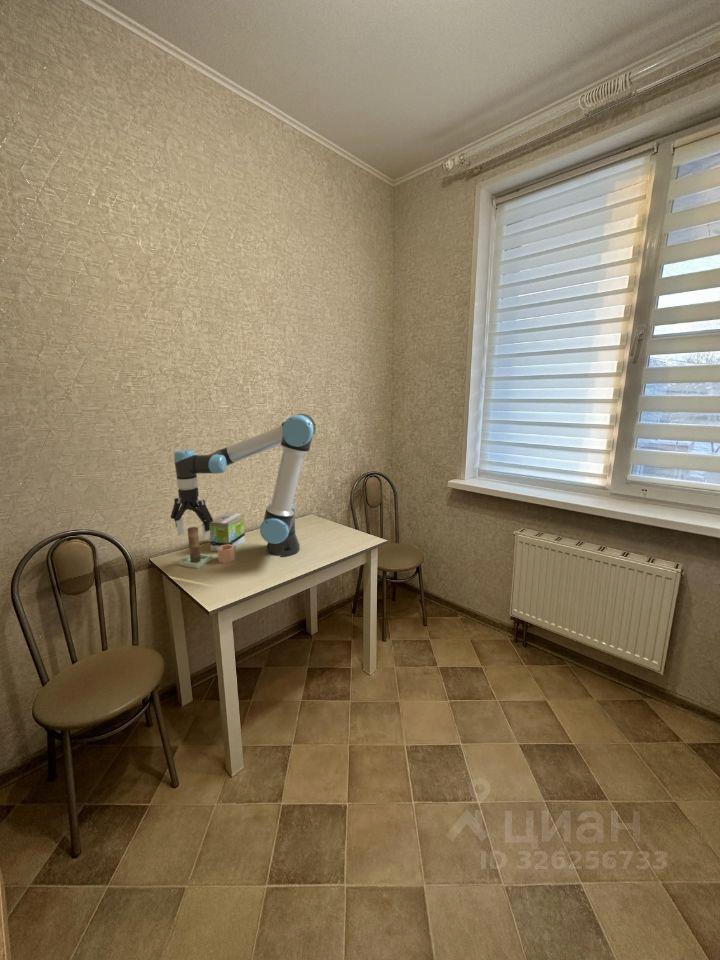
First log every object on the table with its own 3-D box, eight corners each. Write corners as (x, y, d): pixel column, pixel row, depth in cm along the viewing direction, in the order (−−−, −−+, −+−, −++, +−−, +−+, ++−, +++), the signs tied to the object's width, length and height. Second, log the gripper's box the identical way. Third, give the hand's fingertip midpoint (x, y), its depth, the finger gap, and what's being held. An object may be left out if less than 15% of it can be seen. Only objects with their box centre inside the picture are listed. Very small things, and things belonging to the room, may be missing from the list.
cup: (237, 559, 168) (236, 545, 167) (228, 565, 162) (226, 551, 161) (225, 557, 170) (224, 543, 169) (215, 563, 164) (214, 549, 163)
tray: (212, 561, 166) (211, 555, 166) (197, 569, 158) (196, 564, 158) (194, 558, 170) (193, 552, 169) (178, 566, 162) (177, 560, 161)
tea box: (230, 553, 174) (227, 523, 171) (210, 552, 176) (207, 521, 173) (246, 541, 189) (244, 513, 185) (227, 540, 191) (225, 512, 187)
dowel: (202, 560, 165) (200, 527, 162) (196, 564, 161) (193, 530, 158) (195, 558, 166) (192, 526, 163) (188, 562, 163) (185, 529, 159)
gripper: (218, 487, 156) (223, 536, 161) (171, 483, 164) (177, 530, 169) (205, 492, 149) (211, 543, 154) (157, 487, 157) (163, 536, 162)
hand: (193, 536), depth 161 cm, fingers open, 13 cm apart
